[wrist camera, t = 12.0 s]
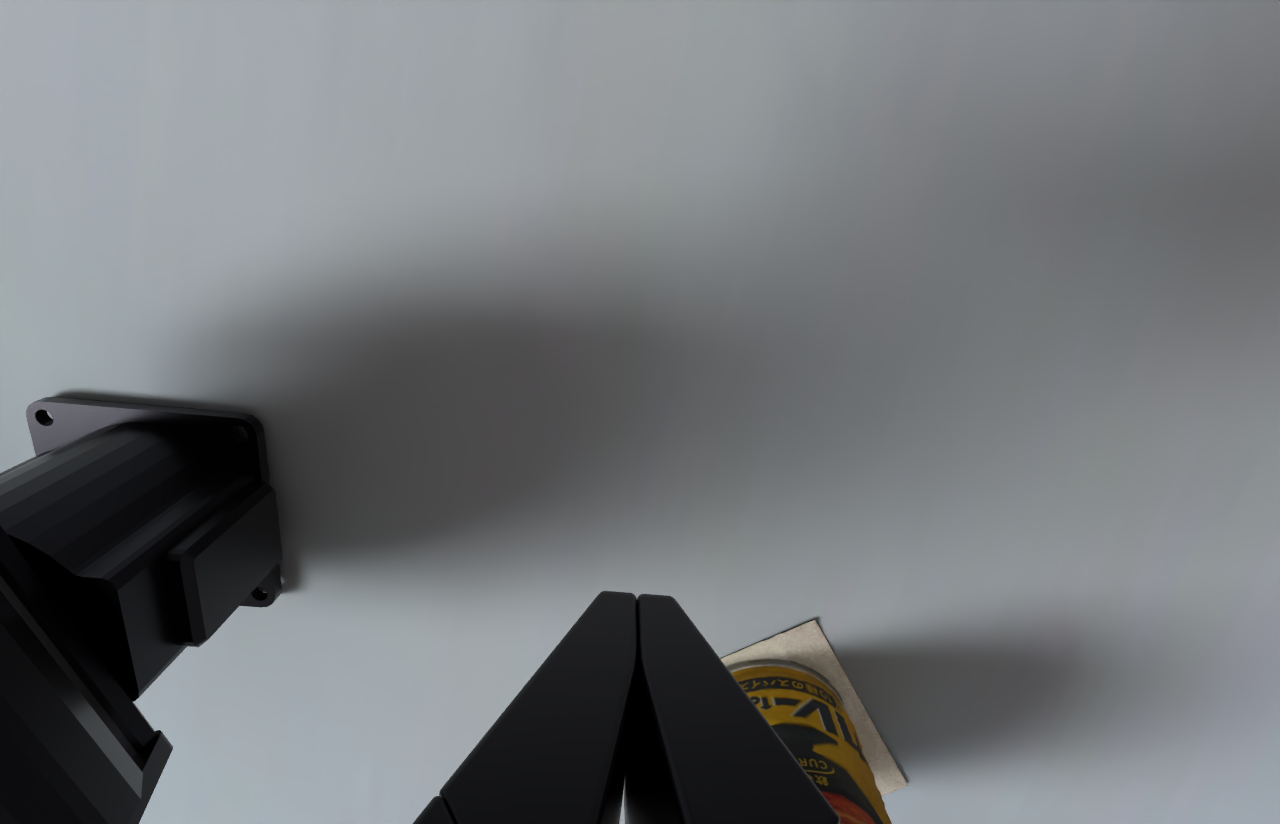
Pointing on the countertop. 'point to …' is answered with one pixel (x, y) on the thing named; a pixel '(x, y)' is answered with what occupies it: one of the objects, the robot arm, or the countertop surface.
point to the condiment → (820, 720)
